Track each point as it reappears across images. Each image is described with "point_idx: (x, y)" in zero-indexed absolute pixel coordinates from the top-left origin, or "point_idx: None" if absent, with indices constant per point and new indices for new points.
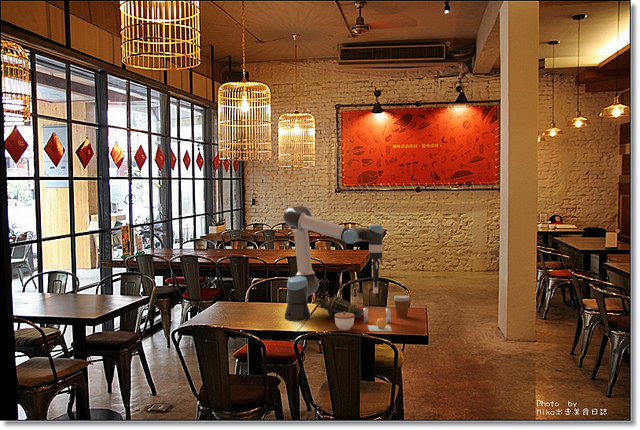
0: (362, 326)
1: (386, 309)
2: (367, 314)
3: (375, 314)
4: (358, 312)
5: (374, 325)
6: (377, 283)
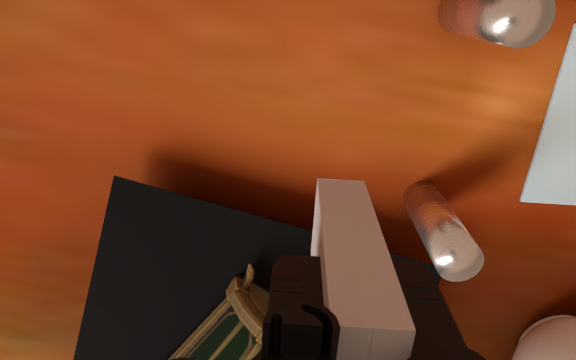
0: (529, 236)
1: (528, 43)
2: (460, 221)
3: (133, 74)
4: (267, 253)
5: (542, 152)
6: (400, 307)
